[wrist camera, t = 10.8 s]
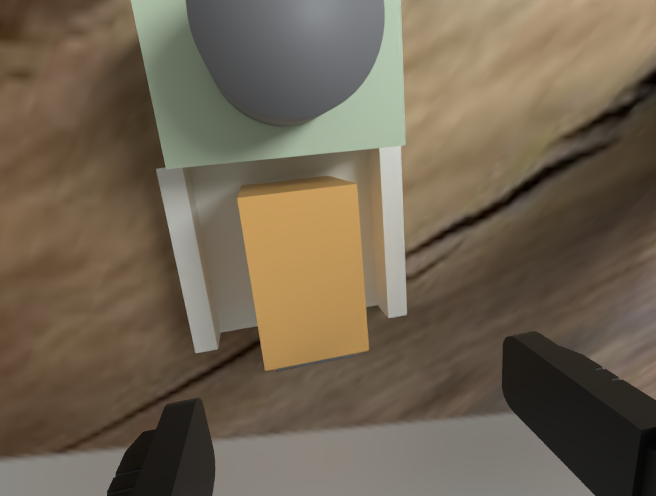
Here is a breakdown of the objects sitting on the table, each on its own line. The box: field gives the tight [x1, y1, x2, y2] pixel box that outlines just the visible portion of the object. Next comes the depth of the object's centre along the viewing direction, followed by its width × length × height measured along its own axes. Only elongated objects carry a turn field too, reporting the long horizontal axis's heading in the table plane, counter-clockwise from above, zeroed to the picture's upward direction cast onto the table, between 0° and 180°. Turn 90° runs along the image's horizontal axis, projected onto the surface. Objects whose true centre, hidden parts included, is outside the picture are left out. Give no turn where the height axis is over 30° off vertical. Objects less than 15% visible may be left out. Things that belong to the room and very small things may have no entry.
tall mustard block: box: [237, 176, 369, 372], centre depth 19 cm, size 5×9×6 cm, turn 5°
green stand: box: [131, 0, 407, 353], centre depth 17 cm, size 12×17×10 cm
